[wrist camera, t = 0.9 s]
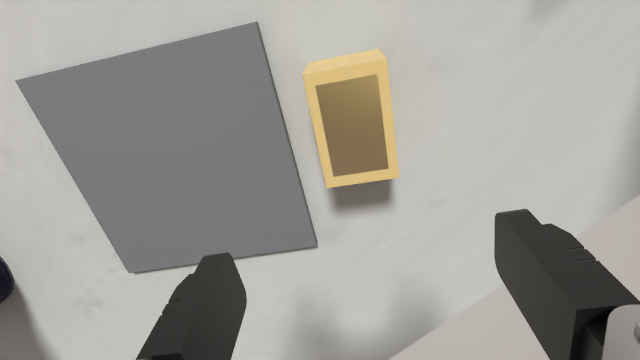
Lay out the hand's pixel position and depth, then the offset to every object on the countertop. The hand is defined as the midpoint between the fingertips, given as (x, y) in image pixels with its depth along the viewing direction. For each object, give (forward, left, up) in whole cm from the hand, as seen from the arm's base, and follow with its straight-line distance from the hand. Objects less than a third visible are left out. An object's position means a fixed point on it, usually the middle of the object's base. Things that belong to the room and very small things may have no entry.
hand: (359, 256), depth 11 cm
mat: (+14, +2, -16) cm, 22 cm away
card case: (0, 0, -17) cm, 17 cm away
